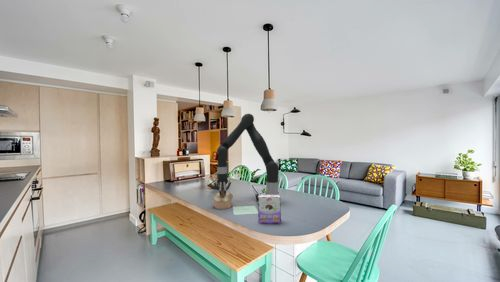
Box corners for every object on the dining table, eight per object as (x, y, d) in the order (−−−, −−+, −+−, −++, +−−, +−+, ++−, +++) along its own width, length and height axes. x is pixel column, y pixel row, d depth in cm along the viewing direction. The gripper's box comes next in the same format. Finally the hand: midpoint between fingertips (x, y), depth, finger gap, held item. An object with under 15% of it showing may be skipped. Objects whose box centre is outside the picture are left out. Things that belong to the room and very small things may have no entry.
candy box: (280, 220, 135) (280, 194, 135) (281, 224, 130) (280, 196, 129) (258, 219, 137) (258, 194, 136) (258, 223, 131) (257, 196, 131)
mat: (255, 206, 164) (255, 205, 164) (258, 214, 147) (258, 213, 147) (232, 207, 162) (232, 206, 162) (233, 215, 145) (233, 214, 145)
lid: (232, 192, 171) (232, 186, 170) (233, 201, 157) (233, 194, 156) (213, 193, 170) (213, 186, 169) (212, 202, 155) (212, 195, 154)
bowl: (230, 203, 170) (230, 197, 170) (231, 209, 158) (231, 201, 158) (214, 204, 169) (214, 197, 169) (214, 210, 156) (213, 202, 156)
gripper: (231, 171, 168) (231, 193, 168) (213, 172, 166) (213, 194, 166) (231, 173, 160) (232, 196, 160) (212, 173, 159) (213, 197, 159)
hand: (222, 195), depth 163 cm, fingers closed on lid, 2 cm apart
